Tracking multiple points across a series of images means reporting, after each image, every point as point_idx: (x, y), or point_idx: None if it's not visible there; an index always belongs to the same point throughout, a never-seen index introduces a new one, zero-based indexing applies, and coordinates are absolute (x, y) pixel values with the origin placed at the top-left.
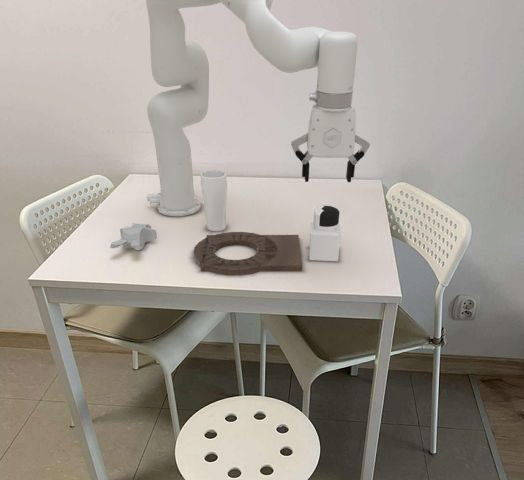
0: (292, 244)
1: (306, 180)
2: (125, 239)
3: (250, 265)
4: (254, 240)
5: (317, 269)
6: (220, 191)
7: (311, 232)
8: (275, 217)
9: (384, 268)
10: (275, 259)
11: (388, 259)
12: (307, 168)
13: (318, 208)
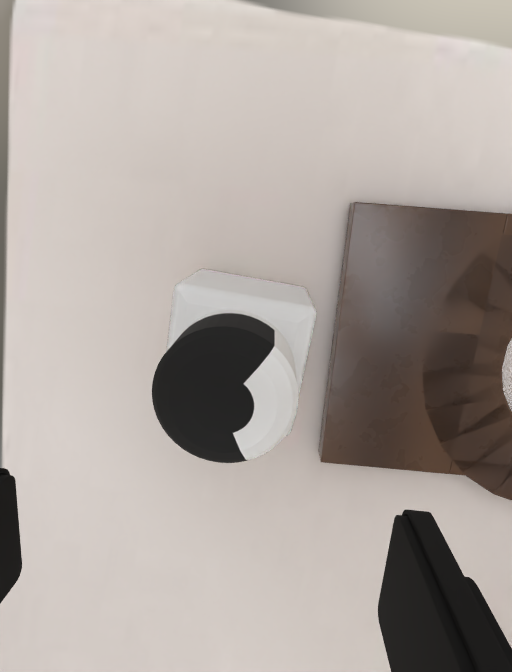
0: (359, 386)
1: (423, 516)
2: None
3: None
4: (501, 432)
5: (287, 214)
6: None
7: (310, 323)
8: (368, 621)
9: (33, 201)
10: (453, 264)
11: (10, 272)
12: (475, 633)
13: (271, 418)
